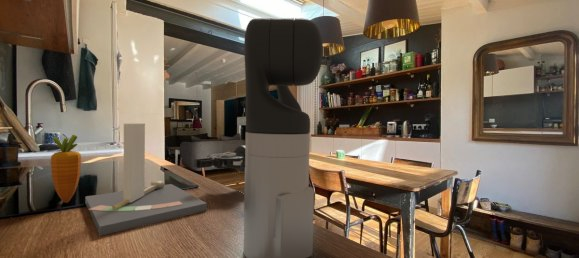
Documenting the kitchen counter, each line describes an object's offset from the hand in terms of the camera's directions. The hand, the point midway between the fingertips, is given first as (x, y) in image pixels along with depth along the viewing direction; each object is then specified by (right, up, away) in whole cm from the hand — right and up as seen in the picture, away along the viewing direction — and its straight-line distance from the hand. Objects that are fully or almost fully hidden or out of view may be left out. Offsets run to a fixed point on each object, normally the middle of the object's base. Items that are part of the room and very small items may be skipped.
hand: (195, 163), depth 61 cm
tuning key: (-10, -6, -5) cm, 13 cm away
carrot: (-26, -8, -6) cm, 28 cm away
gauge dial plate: (-8, -8, -7) cm, 14 cm away
